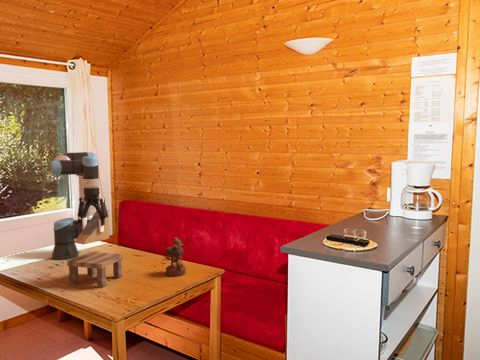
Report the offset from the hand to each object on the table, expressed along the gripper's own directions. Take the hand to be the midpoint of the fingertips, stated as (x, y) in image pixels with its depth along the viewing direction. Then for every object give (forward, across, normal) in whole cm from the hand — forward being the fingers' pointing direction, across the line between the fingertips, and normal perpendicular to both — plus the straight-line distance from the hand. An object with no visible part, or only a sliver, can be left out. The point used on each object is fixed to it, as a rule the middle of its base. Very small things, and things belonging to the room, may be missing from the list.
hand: (93, 231), depth 212 cm
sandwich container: (+5, 0, -1) cm, 5 cm away
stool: (+26, 0, 0) cm, 26 cm away
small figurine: (+26, +34, +22) cm, 48 cm away
